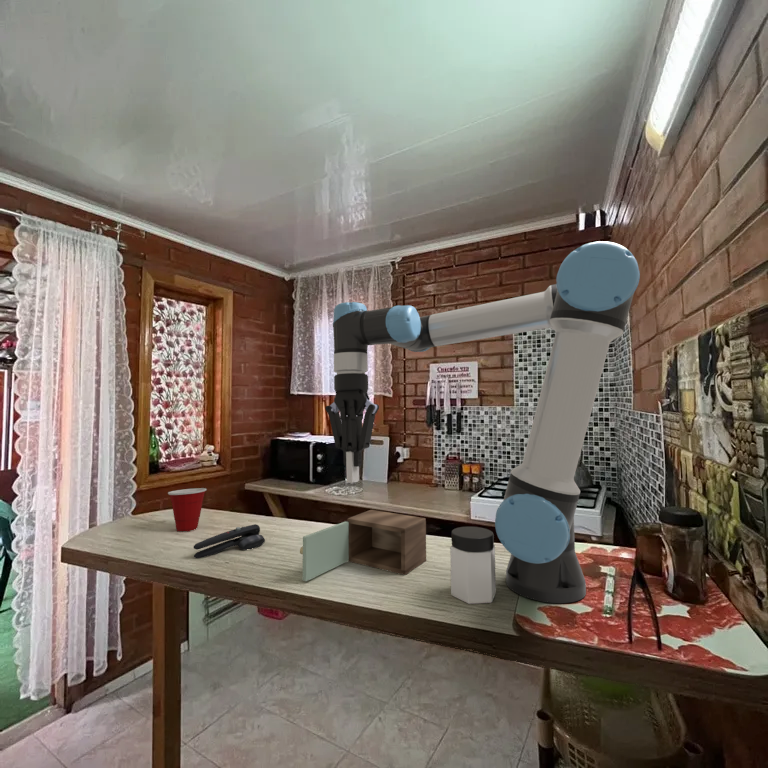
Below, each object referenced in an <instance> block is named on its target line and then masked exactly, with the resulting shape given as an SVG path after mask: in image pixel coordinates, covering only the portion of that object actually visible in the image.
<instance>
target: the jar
mask: <svg viewBox="0 0 768 768" xmlns="http://www.w3.org/2000/svg"><path fill="white" fill-rule="evenodd" d="M494 536H495V535H494V532H493V531H492V530H490V529H488V528H484V527H480V526H460V527H456V528H454V529H452V530H451V539H450V540H451V546H450V547H449V548H450V551H449V553H450V593H451V595H450V596H453V597H454V598H456V599H458V600H460V601H462V602H463V603H466V604H468V605H472V604H473V605H476V604H488V603H489V604H490V603H493V600H494V598H495V595H496V594H497V592H496V591H497V588H496V587H497V586H496V585H497V582H496V579H497V578H496V546H495V543H494V542H495V540H494V538H495V537H494Z"/></svg>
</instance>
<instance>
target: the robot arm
mask: <svg viewBox="0 0 768 768" xmlns="http://www.w3.org/2000/svg"><path fill="white" fill-rule="evenodd" d="M640 273H641V272H640V269H639V264H638V260H637V259H636V258H635V256H634V254H633V253H632V252H631V251H630V250H629V249H628V248H626V247H625V246H623V245H621V244H619V243H616V242H612V241H603V240H602V241H601V240H600V241H593V242H588V243H585V244H582V245H581V246H578V247H577V248H576V249H574V250H573V251H571V252H570V253H569V254H568V255H567V256H566V257H565V258H564V260H563V261H562V263H561V264H560V266H559V269H558V271H557V274H556V278H555V279H556V283H555V284H551V285H549V286H548V287H547V288H546V290H544V291H541V292H536V293H531V294H526V295H521V296H516V297H512V298H507V299H502V300H497V301H492V302H487V303H482V304H478V305H473V306H468V307H462V308H458V309H452V310H448V311H444V312H438V313H433V314H429V315H423V316H420V314H419V312H418V311H417V309H416V307H414V306H412V305H409V304H407V305H395V306H391V307H385V308H378V309H372V310H368V309H367V305H365V304H364V303H362V302H356V301H352V302H351V301H350V302H349V301H348V302H347V301H346V302H341V303H338V304H337V305H335V306H334V308H333V321H332V329H333V372H334V373H336V374H335V375H334V376H333V385H334V387H333V389H334V392H335V396H334V399H333V402H332V403H331V404H330V405H326V406H325V408H324V409H325V411H326V413H327V415H328V418H329V421H330V426H331V432H332V437H333V441H334V447H335V448H336V449H340V450H341V451H342V452H343V466H344V467H345V468H346V483H350V484H352V483H353V484H354V483H356V482H359V481H360V467H361V466H362V463H363V459H362V456H363V455H362V452H363V451H364V450H366V449H368V448H370V446H371V440H372V436H373V435H372V434H373V430H374V424H375V418H376V415H377V413H378V412H379V409H380V405H379V404H377V403H376V404H375V403H374V402H372V401H370V396H369V394H368V390H369V375H368V374H366V373H368V371H369V369H368V368H369V366H368V365H369V363H368V357H369V355H368V353H369V352H368V349H369V348H368V347H369V346H377V345H387V344H388V345H393V346H396V347H400V348H402V349H405V350H409V351H411V352H414V353H418V352H419V353H423V352H424V353H425V352H426V351H428V350H430V349H431V348H434V347H435V348H436V347H439V346H440V347H441V346H446V345H452V344H453V345H454V344H459V343H460V344H461V343H466V342H471V341H477V340H483V339H484V340H485V339H490V338H494V337H495V338H496V337H500V336H501V337H502V336H508V335H514V334H520V333H526V332H532V331H539V330H544V329H552V330H553V331H555V335H554V339H553V340H554V341H553V343H552V348H551V351H550V355H549V359H548V363H547V366H546V371H545V375H544V379H543V382H542V386H541V388H540V389H541V390H540V394H539V398H538V402H537V405H536V409H535V413H534V415H533V416H534V417H533V421H532V425H531V429H530V433H529V436H528V440H527V445H526V448H525V452H524V456H523V460H522V463H521V464H519V465H518V466H515V467H514V468H511V471H510V474H509V478H508V482H507V485H506V490H505V493H504V497H503V501H502V502H500V504H499V507H497V509H496V513H495V518H494V519H495V520H494V527H495V532H496V533H495V534H496V535H497V538H498V539H499V541H500V543H501V544H502V546H503V547H504V548H505V550H506V551H507V552H508V553H510V557H509V559H508V563H507V566H506V571H505V577H506V578H505V579H506V580H505V581H506V585H507V587H508V588H509V589H510V590H511V591H513V592H514V593H516V594H518V595H519V596H521V597H523V598H527V599H530V600H533V601H538V602H543V603H549V604H550V603H551V604H568V603H574V602H578V601H580V600H582V599H584V598H585V597H586V594H587V585H586V578H585V576H584V574H583V569H582V566H581V564H580V561H579V559H578V556H577V554H576V546H575V544H576V543H575V541H576V539H575V514H576V509H577V506H578V504H579V503H578V502H579V498H580V494H581V489H580V488H579V486H578V485H577V483H576V481H575V474H576V470H577V467H578V464H579V459H580V456H581V453H582V448H583V445H584V442H585V441H584V440H585V438H586V433H587V430H588V426H589V423H590V419H591V415H592V411H593V407H594V404H595V403H594V402H595V399H596V398H597V397H596V396H597V392H598V389H599V385H600V381H601V377H602V374H603V369H604V366H605V363H606V362H605V361H606V358H607V356H608V355H607V354H608V352H609V348H610V343H612V342H613V340H615V339H617V338H619V337H621V336H622V335H623V334H624V331H625V327H626V324H627V320H628V317H629V313H630V308H631V305H632V302H633V298H634V294H635V292H636V290H637V288H638V286H639V283H640V278H641V277H640V276H641V274H640ZM364 411H365V413H364Z"/></svg>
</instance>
